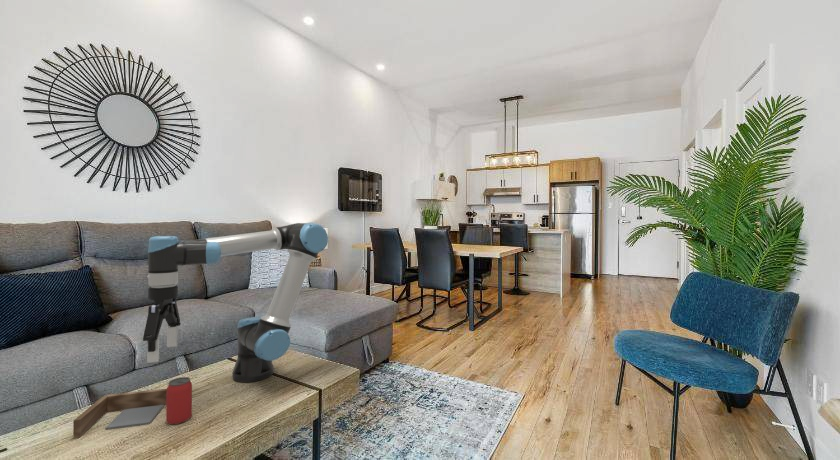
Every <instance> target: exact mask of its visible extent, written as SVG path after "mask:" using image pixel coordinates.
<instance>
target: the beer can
mask: <svg viewBox="0 0 840 460" xmlns="http://www.w3.org/2000/svg"><path fill="white" fill-rule="evenodd" d="M166 388H167V392H166V405H165V406H166V408H165V409H166V411H165V412H166V414H165V415H166V416H165V417H166V418H165V419H166V420H165V421H166V423H167V424H169V425H178V424H182V423H185V422H186V421H188V420H190V419H191V417H192V415H193V413H192V412H193V385H192V382H191V378H190V377H187V376H182V377H178V378H177V377H176V378H173V379H172V380H170V381H169V382H168V385H167V387H166Z"/></svg>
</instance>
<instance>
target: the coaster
mask: <svg viewBox="0 0 840 460" xmlns="http://www.w3.org/2000/svg"><path fill="white" fill-rule="evenodd" d="M163 408H165V405H157V406H149V407H140V408H132V409H124V410H122V411H120V413H118V415H117V416H115V418H113V420H112V421H111V422H109V424H108V425H107V426H106V427H105V431H107V430H115V429H122V428H124V429H125V428H129V427H137V426H145V425H151V424H152V422H153V421H154V420H155V418H156V417H157V416H158V415H159V414H160V412H161V411H162V409H163Z"/></svg>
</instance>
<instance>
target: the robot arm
mask: <svg viewBox="0 0 840 460" xmlns="http://www.w3.org/2000/svg"><path fill="white" fill-rule="evenodd" d="M328 243H329V236H328V233H327V231H326V229H325V228H324V227H323V225H321V224H319V223H314V222H296V223H291V224H287V225H283V226H277V227H273V228H272V229H271V230H265V231H263V230H262V231H256V232H249V233H240V234H239V233H238V234H234V235H233V234H231V235H225V236H215V237H209V238H206V237H205V238H200V239H192V240H191V239H186V240H182V241H180V240H179V239H178V236H175V235H169V236H168V235H165V236H164V235H160V236H159V235H157V236H151V237H150V238H149V240H148V250H147V259H148V260H147V262H148V263H147V265H148V270H147V271H148V275H146V278H147V279H148V280H147V281H148V282H147V283H148V286H149V287H148V288H147V290H148V291H147V299H148V300H150V301H154V302H153V303H154V304H153V305H148V308H147V309H148V313H147V317H146V323H145V327H144V333H143V337H142V341H143V342H146V354H147V355H146V363H148V364H149V363H158V362H159V361H160V338H158V337H159V335H160V331H161V327H162V324H163V321H164V320H165V321H166V324H167V327H166V347H167V348H177V347H178V326H179V327H180V326H181V318H180V314H179V308H178V305H177V298H178V297H179V286H178V283H179V267H181V266H182V267H183V266H198V265H199V266H200V265H208V266H209V265H211V264H217V263H219V262H220V260H221V258H222V257H228V256H233V255H234V256H235V255H241V254H247V253H253V252H259V251H266V250H273V249H274V250H275V251H281V250H287V252H288V253H289V256H288V259H287V261H286V265H285V266H284V269H283V272H282V274H281V277H280V280H279V282H278V284H277V287H276V289H275V291H274V294H273V297H272V300H271V302H270V305H269V306H268V310H267V312H266V314H265V315H260V316H250V317H247V318H242V319H240V320H239V321H238V323H237V328H236V330H237V356H236V357H237V358H236V361H235V364H234V367H233V370H232V375H231V377H232V380H233V381H235V382H238V383H252V382H258V381H262V380H265V379H268V378H269V377H270V376H272V375H273V374H274V371H275V367H274V366H275V365H274V363H273V361H276V360H278V359H280V358H281V357H283V356H284V355H286V352H287V351H288V350H289V348H290V346H291V337H290V335H289V333H290V330H291V327H292V326H291V323H290V318H291V315H292V313H293V310H294V308H295V305H296V303H297V300H298V297H299V295H300V292H301V290H302V287H303V284H304V282H305V279H306V276H307V273H308V271H309V268H310V265H311V263H312V262H315V261H317V259H318V258H317V257H318V256H319V253H320V252H323V251H324V250H325V249H326V248H327V246H328Z"/></svg>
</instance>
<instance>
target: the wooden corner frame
mask: <svg viewBox="0 0 840 460" xmlns="http://www.w3.org/2000/svg"><path fill="white" fill-rule="evenodd" d="M166 392H167V387H166V388H161V389H160V388H158V389H150V390H149V389H148V390H141V391H140V390H139V391H130V392H123V393H122V392H121V393H113V394H106V395H103V396H102V397H100V398H99V399H97V400H96V401H95V402H94V403H93V404H92V405H91V406H88V408H87V409H85V411H83V412H82V413H81V414H79V416H77V417H76V418H75V419H73V427H72V428H73V436H72V437H73V439H77V438H81V437H82V436H83V435H84V434H85V433H87V432H88V431H89V430H90V429H91V428H92V427H93V426H94V425H95V424H96V423H98V422H99V421H100V419H101V418H103V417H104V416H105V415H106V414H107V413H112V412H122V411H123V410H124V409H132V408H140V407H149V406H157V405H164V406H166Z"/></svg>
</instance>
